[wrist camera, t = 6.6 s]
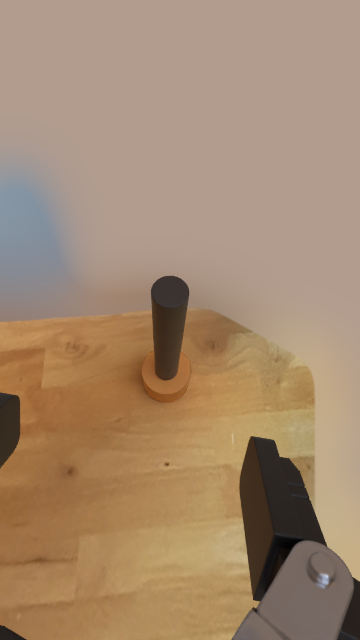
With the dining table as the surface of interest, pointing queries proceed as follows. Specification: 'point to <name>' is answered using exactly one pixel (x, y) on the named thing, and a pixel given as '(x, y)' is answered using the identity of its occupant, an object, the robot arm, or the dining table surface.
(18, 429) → the robot arm
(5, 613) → the dining table surface
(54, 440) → the dining table surface
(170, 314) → the plunger
